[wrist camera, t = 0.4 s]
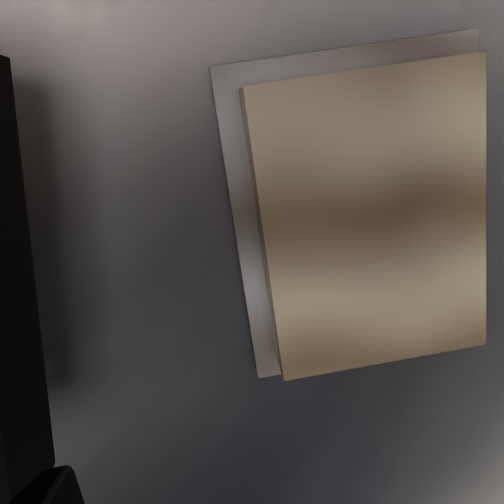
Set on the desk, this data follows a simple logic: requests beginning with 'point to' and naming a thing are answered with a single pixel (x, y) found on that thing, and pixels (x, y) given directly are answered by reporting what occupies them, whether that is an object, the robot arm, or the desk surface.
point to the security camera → (18, 322)
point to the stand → (358, 200)
